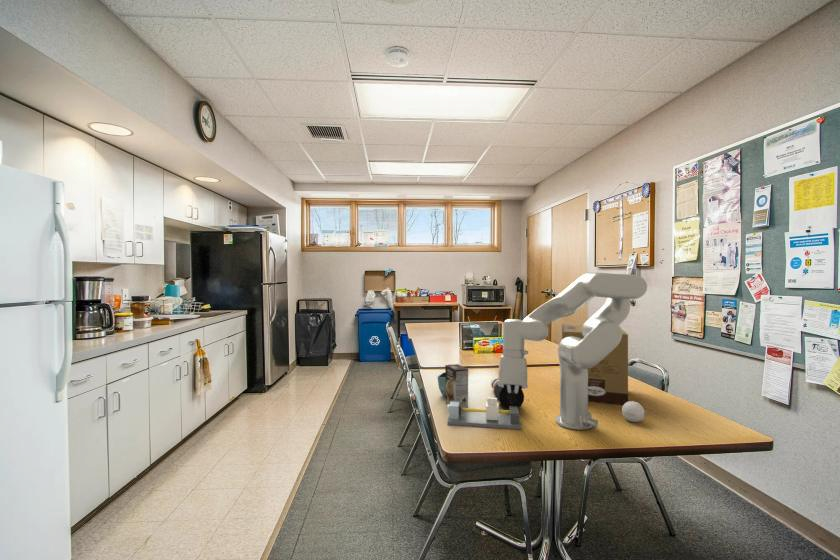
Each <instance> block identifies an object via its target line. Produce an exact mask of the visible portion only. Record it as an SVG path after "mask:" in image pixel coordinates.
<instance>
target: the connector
mask: <svg viewBox="0 0 840 560" xmlns="http://www.w3.org/2000/svg"><path fill="white" fill-rule="evenodd" d="M446 409H447V410H446V413H447V414H448V418H449V419H459V415H461V414H462V412H463V411H462V410H461V409H462V404H460V403H459V402H452V401H450V404H447V405H446Z"/></svg>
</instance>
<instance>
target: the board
mask: <svg viewBox="0 0 840 560" xmlns="http://www.w3.org/2000/svg"><path fill="white" fill-rule="evenodd" d="M508 410H510V414H504V413H499V420H486V412H470V411H462V414H461V415H459V419H449V417H448V419H447V425H450V426H462V427H463V426H465V427H478V428H493V429H494V428H495V429H511V430H522V424H521V420H520V412H519V408H518V407H510V406H509V409H508Z"/></svg>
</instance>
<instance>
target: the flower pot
mask: <svg viewBox="0 0 840 560" xmlns="http://www.w3.org/2000/svg"><path fill="white" fill-rule="evenodd" d="M437 383H438V384H437V385H438V389H439V392H440V393H441V395H442V396H443V397H446V378H445V371H444V372H442V373H441V374H439V375H438V376H437Z"/></svg>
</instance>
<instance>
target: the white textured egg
mask: <svg viewBox="0 0 840 560" xmlns="http://www.w3.org/2000/svg"><path fill="white" fill-rule="evenodd" d="M621 413H622V415H623V417H624V418H625V419H626V420H627V421H629V422H632V423H639V422H641V421H642V420H643V419H644V418H645V415H646V414H645V409H644V407H643V406H642V405H641V404H640V403H639V402H637V401H635V400H631V401H629V400H628V402H626V403H625V404H624V405H622V407H621ZM647 416H648V417H650V415H648V414H647Z"/></svg>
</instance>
